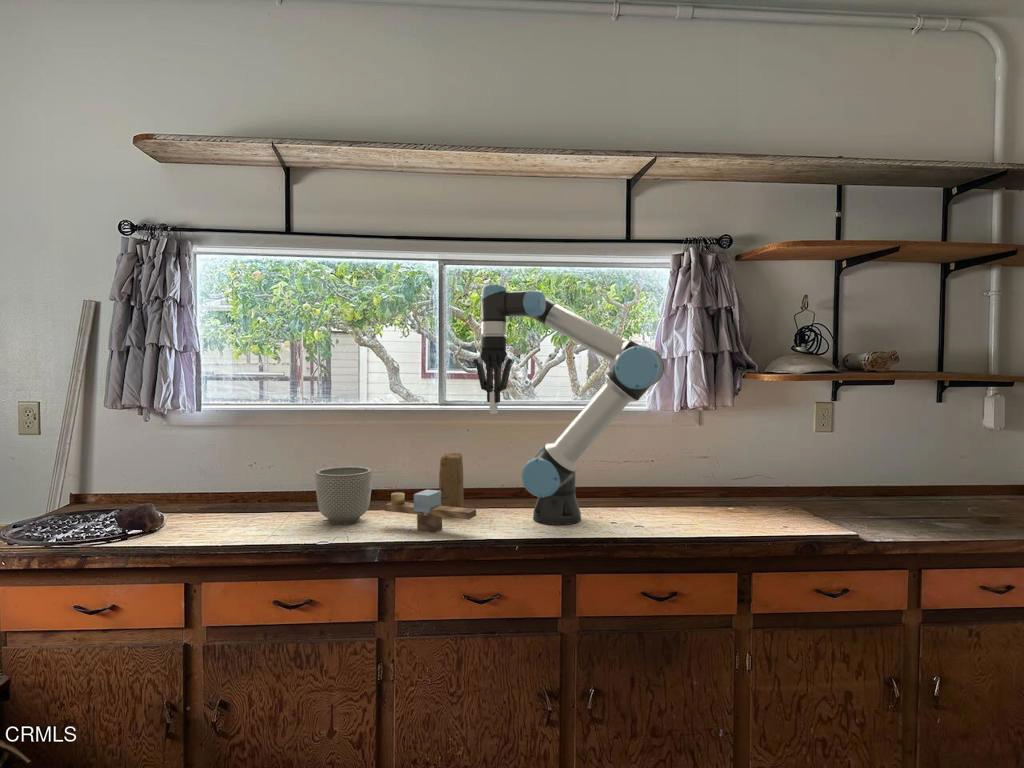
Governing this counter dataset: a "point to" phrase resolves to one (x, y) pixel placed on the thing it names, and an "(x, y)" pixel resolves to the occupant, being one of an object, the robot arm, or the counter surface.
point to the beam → (431, 519)
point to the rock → (139, 518)
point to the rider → (426, 500)
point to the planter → (343, 493)
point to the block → (451, 480)
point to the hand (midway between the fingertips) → (493, 413)
